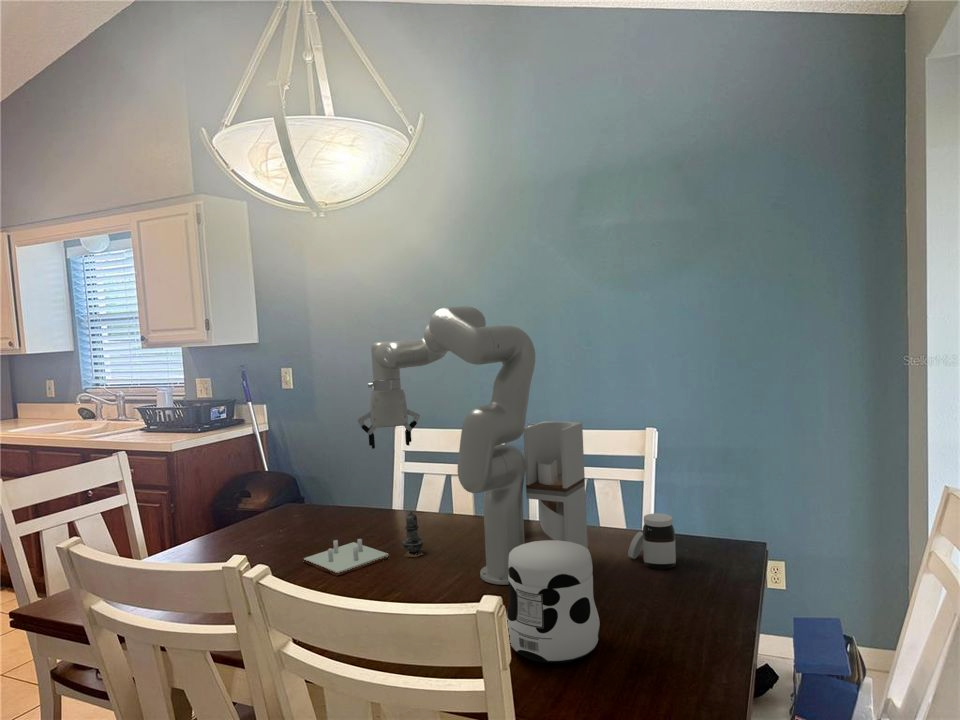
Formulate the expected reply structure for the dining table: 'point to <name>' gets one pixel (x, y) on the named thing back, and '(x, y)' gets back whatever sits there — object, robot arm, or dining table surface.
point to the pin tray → (346, 556)
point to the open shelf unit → (557, 478)
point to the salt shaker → (412, 535)
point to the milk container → (552, 601)
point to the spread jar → (655, 542)
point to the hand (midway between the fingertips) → (390, 446)
